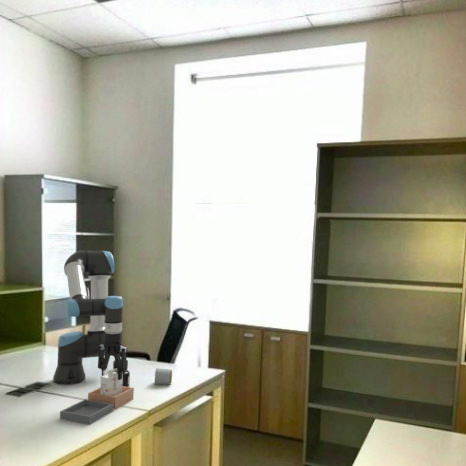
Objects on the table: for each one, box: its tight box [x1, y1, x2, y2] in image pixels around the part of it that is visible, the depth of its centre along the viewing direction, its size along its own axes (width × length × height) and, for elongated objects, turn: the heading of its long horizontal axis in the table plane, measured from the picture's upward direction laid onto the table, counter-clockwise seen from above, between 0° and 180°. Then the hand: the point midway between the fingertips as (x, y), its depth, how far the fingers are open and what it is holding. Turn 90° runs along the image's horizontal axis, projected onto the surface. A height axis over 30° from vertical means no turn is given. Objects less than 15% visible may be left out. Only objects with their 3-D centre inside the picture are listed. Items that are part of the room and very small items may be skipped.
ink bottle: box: [112, 359, 131, 387], centre depth 216 cm, size 10×9×12 cm
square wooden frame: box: [87, 386, 135, 410], centre depth 194 cm, size 14×14×5 cm
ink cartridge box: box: [100, 368, 123, 396], centre depth 194 cm, size 9×5×15 cm, turn 148°
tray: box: [59, 399, 114, 425], centre depth 179 cm, size 14×15×3 cm
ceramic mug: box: [154, 367, 173, 386], centre depth 222 cm, size 11×8×8 cm
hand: (111, 386), depth 194 cm, fingers closed on ink cartridge box, 6 cm apart
